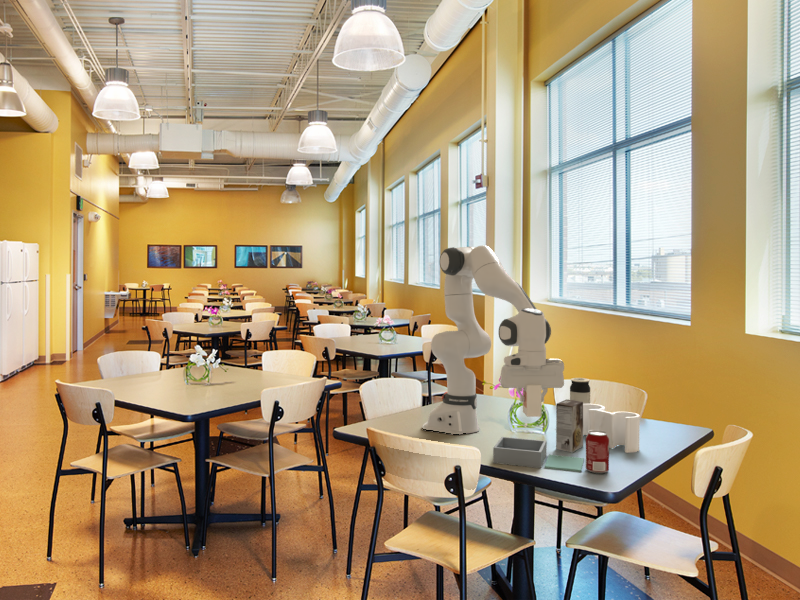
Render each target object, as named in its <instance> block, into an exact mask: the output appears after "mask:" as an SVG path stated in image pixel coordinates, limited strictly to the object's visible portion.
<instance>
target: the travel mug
mask: <svg viewBox="0 0 800 600" xmlns="http://www.w3.org/2000/svg"><path fill="white" fill-rule="evenodd" d="M590 380H591V379H589V378H585V377H573V378H571V379H570V381H571V384H570V386H569V400H575V401H580V402H583V404H591V386H590V385H589V383H590Z"/></svg>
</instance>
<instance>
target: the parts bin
mask: <svg viewBox="0 0 800 600" xmlns="http://www.w3.org/2000/svg"><path fill="white" fill-rule="evenodd" d="M492 448H493V456H492V457H493V458H492V459H493V462H492V463H493V464H498V463H499V465H507V464H509V466H516V465H518V466H519V467H525V466H527V468H528V467H529V468H538V469H542V467H543V464H544V463H545V460H546V457H547V440H543V439H542V440H540V439H532V438H531V439H530V438H520V437H519V438H517V437H507V436H500V438H499V440H498V441H497V442H496V444H495V445H493V447H492Z"/></svg>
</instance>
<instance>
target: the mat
mask: <svg viewBox="0 0 800 600" xmlns="http://www.w3.org/2000/svg"><path fill="white" fill-rule="evenodd" d="M584 460H585V458H584V457H578V456H576V457H575V456H568V455H558V454H549V455H548V457H547V459H546V461H545V464H544V469H548V470H549V469H550V470H560V471H566V472H567V471H569V472H570V471H571V472H579V473H582V470H583V466H584V462H585V461H584Z"/></svg>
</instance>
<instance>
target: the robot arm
mask: <svg viewBox="0 0 800 600" xmlns="http://www.w3.org/2000/svg"><path fill="white" fill-rule="evenodd" d="M439 267H440V269H441V271H442V273H444V274H445V276H444V277H445V278H444V287H443V288H444V290H443V291H444V307H445V315H446V317H447V318H448V319H449V320H451V321H452V322H454V324H455V325H456V328H457V330H446V331H443V332H439V333H436V334H434V336H433V337H432V339H431V342H430V349H431V352H432V354H433V355H434V356H435V358H436V359H438V360H439V361H440V363H441V364H442V365H443V367H444V370H445V373H446V374H445V375H446V383H447V385H446V388H447V389H446V391H445V392H444V393H443V394H442V396H441V400H442V402H441V403H440V404H438V405H437V406H436V407H434V408H433V409H432V410H430V412H429V414H428V417H427V421H426V422H424V423H423V424H422V426H421V429H422V428H423V429H428V430H434V431H440V432H446V433H452V434H451V435H453V434H459V435H464V434H463V433H466V434H473V433H476V432H479V431H480V430H481V429H480V426H479V421H478V416H477V415H478V413H477V407H478V398H477V393H476V386H477V385H476V378H477V377H476V374H475V373H474V371H473V370H472V369H470V368H468V367H467V366H466V364H465V359H473V358H478V357H481V356H486V355H487V354H489V353H490V351H491V348H492V339H491V337H490V335H489V333H488V332H487V331H485V330H484V329H483V328H482V326H481V325H480V324H479V322H478V320H477V318H476V315H475V314H476V313H475V308H474V296H473V294H474V293H473V284H472V283H473V279H474V282H475V283H476V285H477V288H478V289H479V290H480V292H481V293H483V294H485V295H486V296H488V297H492V298H496V299H500V300H503V301H506V302H508V303H510V304H512V305H513V307H514V309H516V311H517V312H518V313H517V314H515V315H513V316H512V317H508V318H504V319H503V320H502V321H501V323H500V324H499V326H498V338H499V340H500V342H501V343H502V344H503V345H504V346H506V347H518V351H517V352H516V353H513V354H510V355H507V356H504V357H503V363H504V364H503V366H502V367H501V370H500V378H499V379H500V380H499V384H500V386H501V387H502V388H503V389H516V392H517V394H518V396H519V401H520V403H523V402H525V396H523V393H522V392H523V388H526V384H540V385H541V403H543V402H545V396H546V395H547V393H548V389H561V388H563V387H564V386H565V378H564V371H565V363H564V361H563V360H561V359H559V358H547V348H546V344H547V343H548V342H549V339H550V337H551V336H552V328H551V324H550V323H549V321H548V320H547V318H546V317H545V314H544V311H542V310H540V309H537V307H536V305H535V304H534V303H533V301H532V300H531V299H530V297H529V296H528V294H527V292H526V291H525V290H524V288H523V287H522V286H521V284H520V283H518V282H517V281H515V280H514V279H513V278H512V277H511V276H510V275H509V274H508V273H507V271H506V270H505V268H504V267H503V265H502V263H501V260H500V259H499V257H498V256H497V255H496V253H495V252H494V250H493V248H490V246H487V245H478V246H462V247H460V246H459V247H455V246H454V247H448V248H445V249H444V250H443V251H442V252H441V253H440V257H439ZM423 429H422V430H423ZM446 433H445V434H446Z"/></svg>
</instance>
